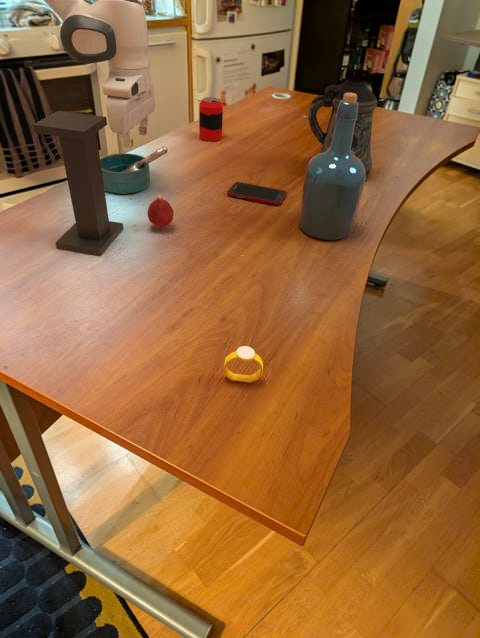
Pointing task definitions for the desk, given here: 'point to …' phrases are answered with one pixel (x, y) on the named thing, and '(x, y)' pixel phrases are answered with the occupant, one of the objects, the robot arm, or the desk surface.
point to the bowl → (124, 173)
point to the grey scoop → (146, 160)
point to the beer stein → (362, 124)
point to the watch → (246, 356)
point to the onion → (160, 213)
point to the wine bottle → (334, 181)
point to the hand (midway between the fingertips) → (136, 140)
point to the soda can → (210, 119)
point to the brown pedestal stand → (82, 181)
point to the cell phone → (257, 193)
